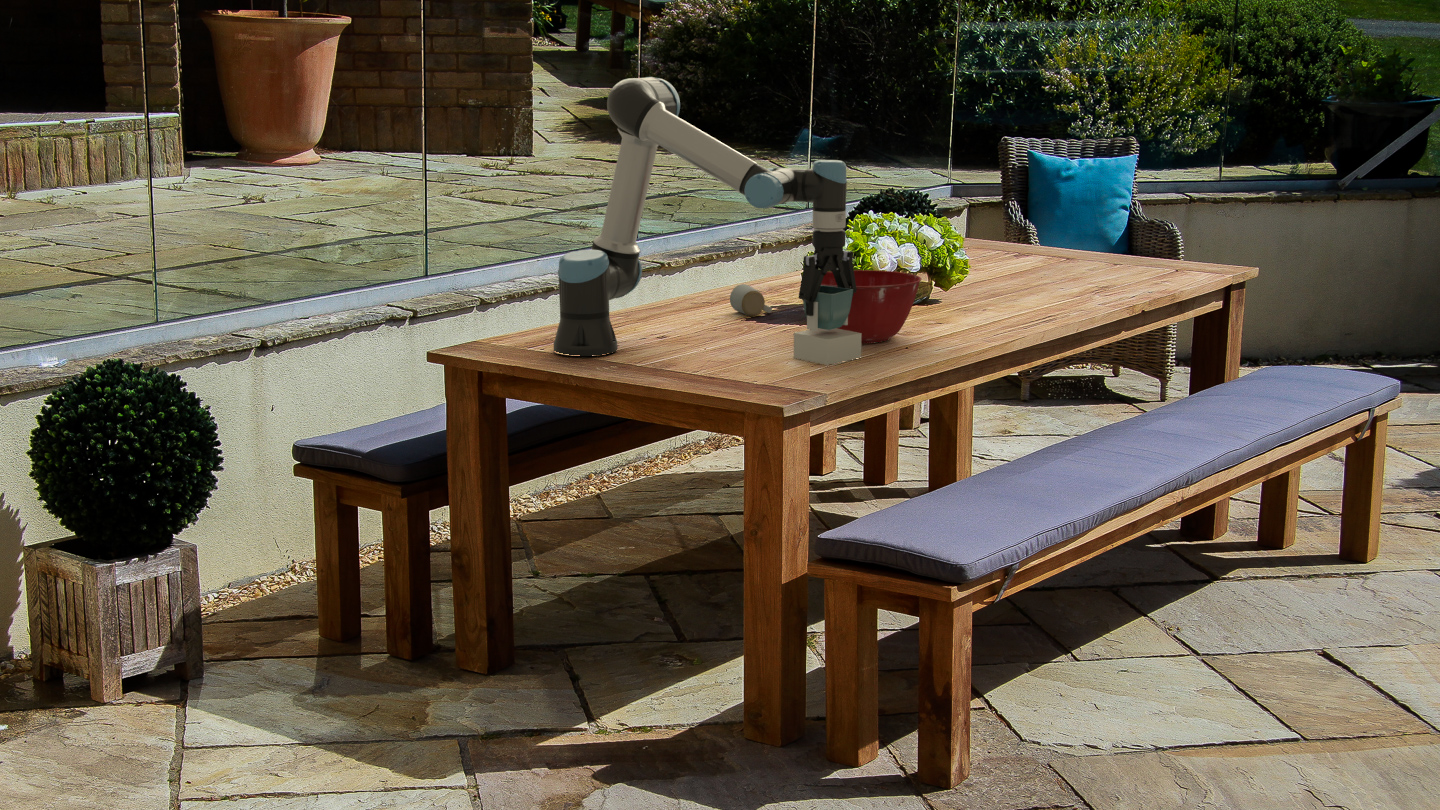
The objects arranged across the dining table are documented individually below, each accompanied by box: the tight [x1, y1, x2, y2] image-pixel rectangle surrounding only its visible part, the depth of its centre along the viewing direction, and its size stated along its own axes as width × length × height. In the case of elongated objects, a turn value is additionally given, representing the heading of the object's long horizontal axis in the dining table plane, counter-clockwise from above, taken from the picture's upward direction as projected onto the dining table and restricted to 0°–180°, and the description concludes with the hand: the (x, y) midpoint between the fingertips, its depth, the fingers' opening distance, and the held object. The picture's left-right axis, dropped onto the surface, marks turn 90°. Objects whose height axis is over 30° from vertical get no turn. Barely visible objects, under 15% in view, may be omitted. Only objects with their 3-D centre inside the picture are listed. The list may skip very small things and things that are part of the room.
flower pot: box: [802, 285, 853, 330], centre depth 332 cm, size 9×9×9 cm
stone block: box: [793, 328, 862, 366], centre depth 334 cm, size 11×11×6 cm
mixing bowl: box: [821, 269, 922, 344], centre depth 356 cm, size 28×28×15 cm
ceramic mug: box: [729, 283, 773, 317], centre depth 391 cm, size 11×8×8 cm
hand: (827, 326), depth 333 cm, fingers closed on flower pot, 9 cm apart
